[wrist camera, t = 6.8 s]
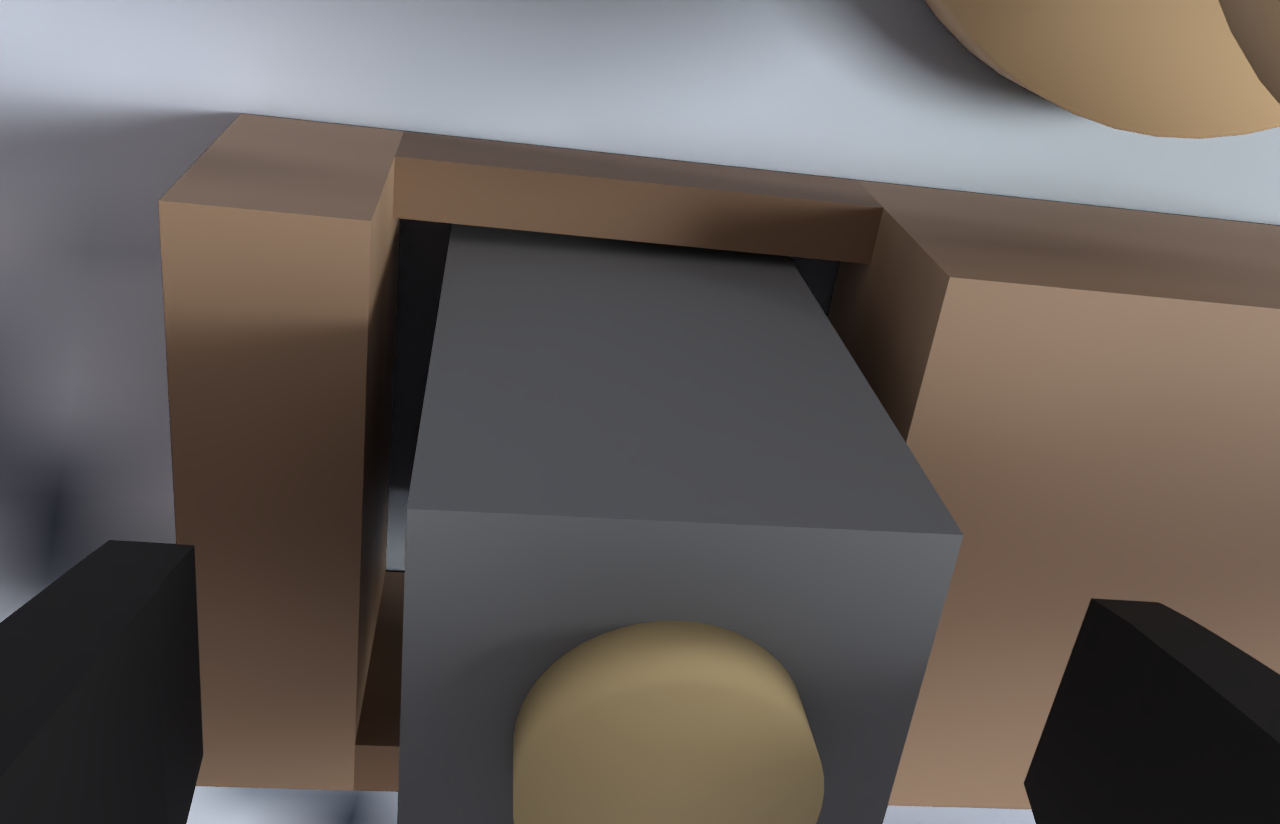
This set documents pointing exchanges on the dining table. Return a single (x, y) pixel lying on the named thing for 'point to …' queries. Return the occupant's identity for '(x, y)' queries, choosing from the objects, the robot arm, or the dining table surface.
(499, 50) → the dining table surface
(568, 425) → the grey rectangular block
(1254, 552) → the block with rectangular opening
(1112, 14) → the spool
